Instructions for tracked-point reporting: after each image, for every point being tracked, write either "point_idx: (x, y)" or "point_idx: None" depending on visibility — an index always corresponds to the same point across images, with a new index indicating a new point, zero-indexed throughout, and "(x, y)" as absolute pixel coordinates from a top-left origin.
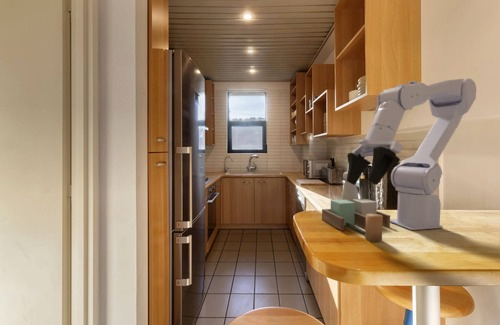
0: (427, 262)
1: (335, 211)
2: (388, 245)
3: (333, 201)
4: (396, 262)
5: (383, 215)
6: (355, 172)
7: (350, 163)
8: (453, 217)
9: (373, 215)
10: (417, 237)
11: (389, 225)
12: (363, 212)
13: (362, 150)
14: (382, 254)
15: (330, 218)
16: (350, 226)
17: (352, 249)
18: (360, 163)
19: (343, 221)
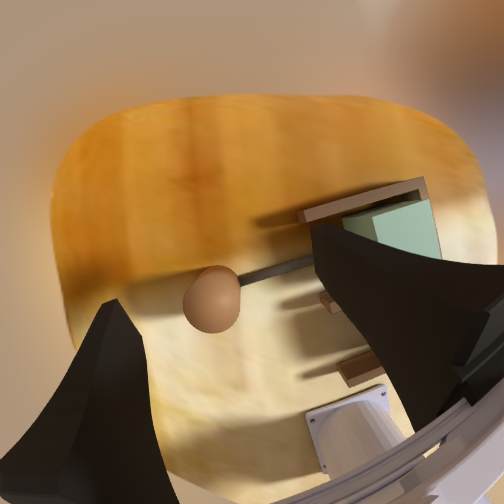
0: None
1: (380, 210)
2: (177, 310)
3: (410, 204)
4: (83, 282)
5: (363, 371)
6: (358, 296)
7: (408, 270)
8: None
9: (209, 303)
10: (251, 404)
11: (339, 372)
12: None
13: (448, 445)
14: (117, 270)
15: (364, 192)
16: None
17: (138, 205)
18: (410, 364)
19: (304, 220)
